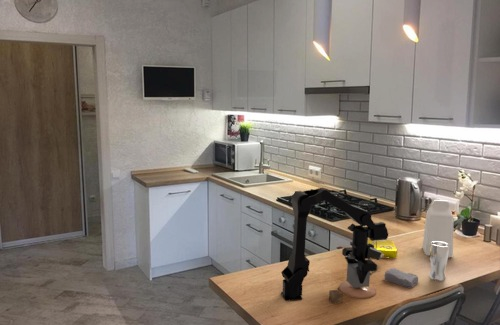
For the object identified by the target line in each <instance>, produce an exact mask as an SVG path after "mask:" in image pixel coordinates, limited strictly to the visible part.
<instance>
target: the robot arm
mask: <svg viewBox="0 0 500 325" xmlns="http://www.w3.org/2000/svg"><path fill="white" fill-rule="evenodd" d="M324 201H325V202H326V203H328V204H330V205H332V206H333V207H335V208H337V209H339V210H340V211H342V212H343V213H345V214H346V216H347V217H349V218H350V219H351V220H352V221H353V222H355V223H357V224H358V225H356V224H355V223H351V224H350V225H348V227H347V230H349V231H351V232H352V239H351V241H350V242H349V245H350V246H349V247H348V246H347V247H343V249H342V250H341V251H342V255H343V257H344V259H345V261H346V263H347V264H351V263H358V267H356V270H357V274H358V278H359V281H360V283H361V284H362V283H363V282H364V280H365V278H366V275H367V273H368V272H369V271H375V272H376V271H378V265H377V263H375V261H373V260H372V259H375V260H377V261H379V260H380V259H381V258H380V256H381V254H382V252H380V251H379V250H377V249H376V248H374V245H373V244H370V243H369V244H368V239H370V240H371V241H376V240H387V239H388V238H389V231H388V228H387V225H386V223H385V222H382V221H381V222H374V221H373V219H372V214H371V213H370V211H367V210H366V209H364V208H361V207H359V206H356V205H353V204H350V203H348V202H347V201H345V200H344V199H342V198H340V197H338V196H337V195H335V194H333V193H332V192H331V191H329V190H328V189H326V188H325V187H318V188H316V189H308V190H303V191H302V190H297V191H296V192H294V193H292V195H291V207H292V211H293V215H294V218H293V219H294V222H293V239H292V252H291V254H290V255H289V258H288V262H287V266H286V267H284V269H282V271H281V272H280V273H281V276H282V278H284V279H282V291H281V293H280V294H281V295H282V297H283V299H284V300H285V301H296V300H297V301H298V300H303V297H302V296H303V282H304V279H305V278H306V277H307V276H308V272H309V273H310V268H309V267H310V261H311V260H309V259H308V258H307V256H306V255H305V253H306V252H305V250H306V241H307V240H306V238H307V226H308V224H307V222H308V217H309V215H310V213H311V210H312V207H313V206H317V205H318V204H320V203H322V202H324ZM370 257H371V259H370ZM368 259H370V260H368Z"/></svg>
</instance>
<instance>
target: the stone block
mask: <svg viewBox="0 0 500 325" xmlns="http://www.w3.org/2000/svg"><path fill="white" fill-rule="evenodd" d="M384 280H385V281H386V282H390V283H393V284H396V285H399V286H401V287H404V288H409V289H411V288H413V287H414V286H415V285H417V284H418V283H419V276H418V275H417V274H414V273H410V272H404V271H402V270H400V269H397V268H394V267H393V268H390V269H387V270H385V272H384Z"/></svg>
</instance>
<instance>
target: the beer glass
mask: <svg viewBox="0 0 500 325" xmlns="http://www.w3.org/2000/svg"><path fill="white" fill-rule="evenodd" d="M448 259H449V257H448V244H447V243H444V242H440V241H434V242H431V248H430V256H429V260H430V262H429V263H430V272H429V275H428V276H429V279H430V280H432V281H435V280H436V281H435V282H444V281H445V280H446V275H445V274H446V272H445V271H446V268H447V263H448Z"/></svg>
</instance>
